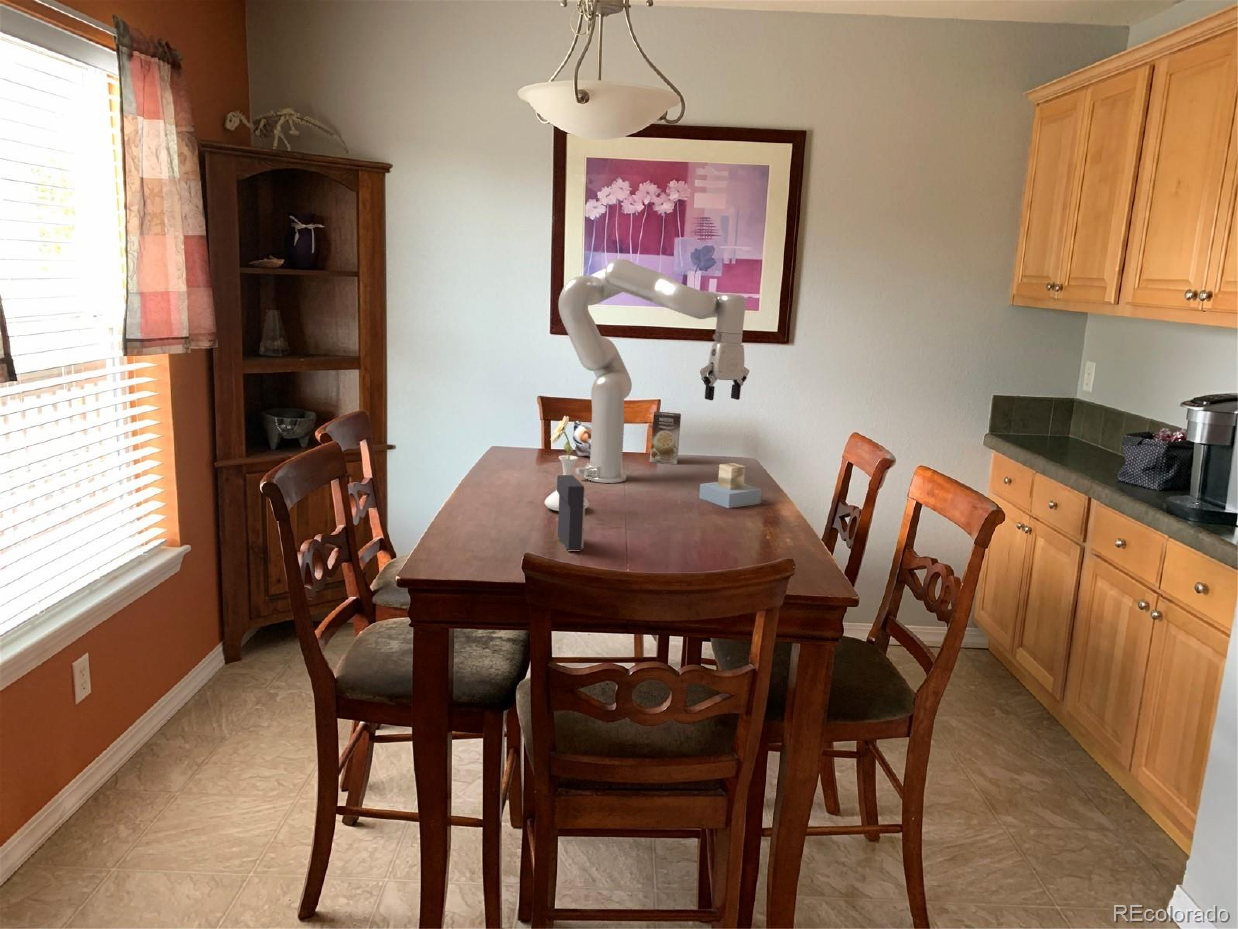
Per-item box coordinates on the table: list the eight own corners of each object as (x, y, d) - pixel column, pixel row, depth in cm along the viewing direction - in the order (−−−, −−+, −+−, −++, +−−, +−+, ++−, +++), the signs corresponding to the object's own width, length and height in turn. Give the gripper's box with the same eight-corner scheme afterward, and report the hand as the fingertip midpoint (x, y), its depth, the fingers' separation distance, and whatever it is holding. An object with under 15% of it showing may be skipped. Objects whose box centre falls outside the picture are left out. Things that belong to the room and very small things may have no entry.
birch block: (730, 489, 248) (731, 468, 247) (717, 485, 252) (719, 464, 251) (743, 487, 251) (745, 466, 250) (731, 483, 255) (732, 462, 254)
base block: (728, 508, 244) (729, 493, 244) (699, 497, 254) (700, 484, 253) (760, 503, 251) (761, 489, 251) (730, 493, 261) (731, 480, 260)
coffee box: (649, 462, 296) (652, 413, 293) (650, 458, 303) (653, 410, 299) (677, 464, 295) (680, 415, 292) (678, 460, 302) (681, 412, 298)
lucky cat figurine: (621, 458, 300) (613, 424, 292) (588, 473, 297) (579, 439, 289) (602, 437, 311) (593, 404, 303) (570, 451, 308) (561, 418, 300)
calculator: (584, 552, 201) (587, 486, 198) (565, 552, 200) (568, 486, 197) (572, 537, 211) (575, 474, 208) (554, 538, 210) (557, 474, 207)
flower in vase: (551, 502, 241) (554, 408, 236) (593, 506, 239) (597, 412, 234) (536, 514, 229) (540, 416, 223) (580, 519, 227) (585, 420, 221)
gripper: (713, 339, 247) (706, 402, 251) (760, 340, 257) (753, 400, 260) (695, 336, 253) (690, 397, 257) (742, 337, 263) (736, 396, 266)
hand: (722, 399), depth 259 cm, fingers open, 9 cm apart
